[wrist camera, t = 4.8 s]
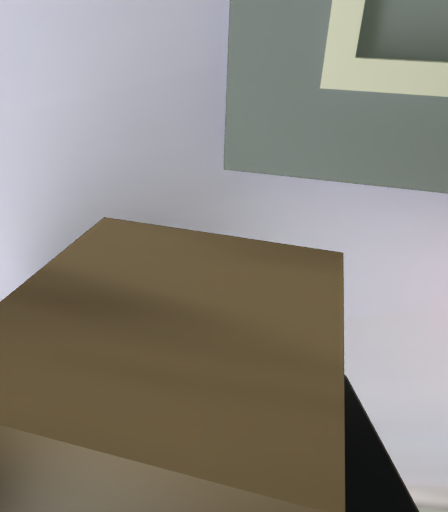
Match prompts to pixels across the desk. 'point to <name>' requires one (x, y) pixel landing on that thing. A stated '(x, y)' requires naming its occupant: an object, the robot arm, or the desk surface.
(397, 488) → the robot arm
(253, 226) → the desk surface
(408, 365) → the desk surface
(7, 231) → the desk surface
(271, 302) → the walnut block
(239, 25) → the blueprint plate
